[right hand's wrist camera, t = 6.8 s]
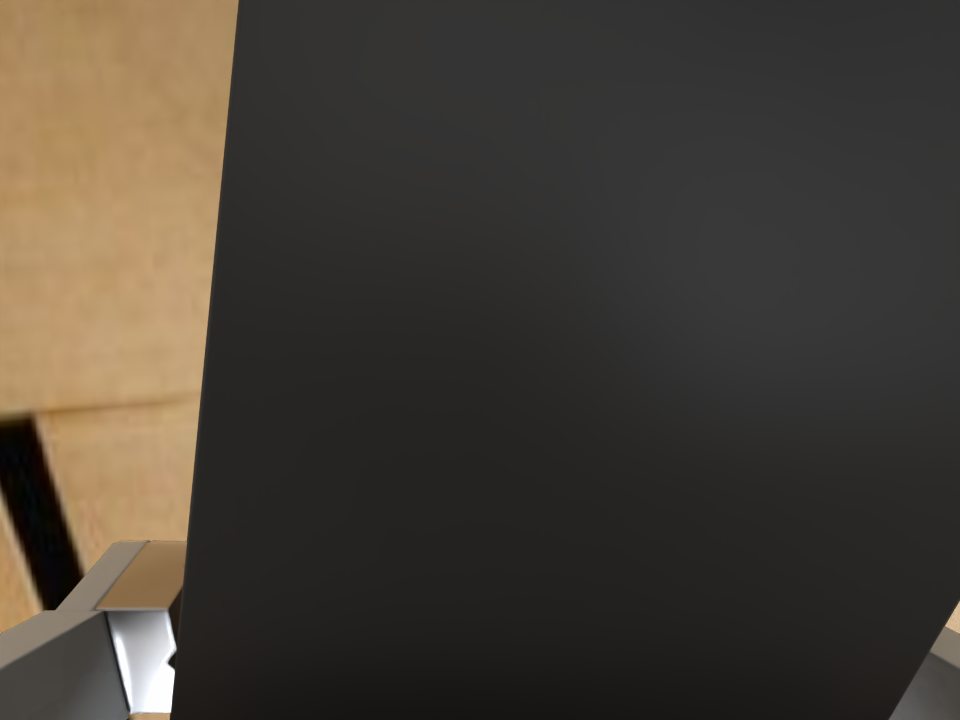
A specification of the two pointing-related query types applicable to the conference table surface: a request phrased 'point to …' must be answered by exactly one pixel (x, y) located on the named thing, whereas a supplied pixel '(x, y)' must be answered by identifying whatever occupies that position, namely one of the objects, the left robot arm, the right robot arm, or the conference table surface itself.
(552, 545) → the box
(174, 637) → the right robot arm
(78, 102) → the conference table surface
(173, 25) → the conference table surface
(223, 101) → the conference table surface
